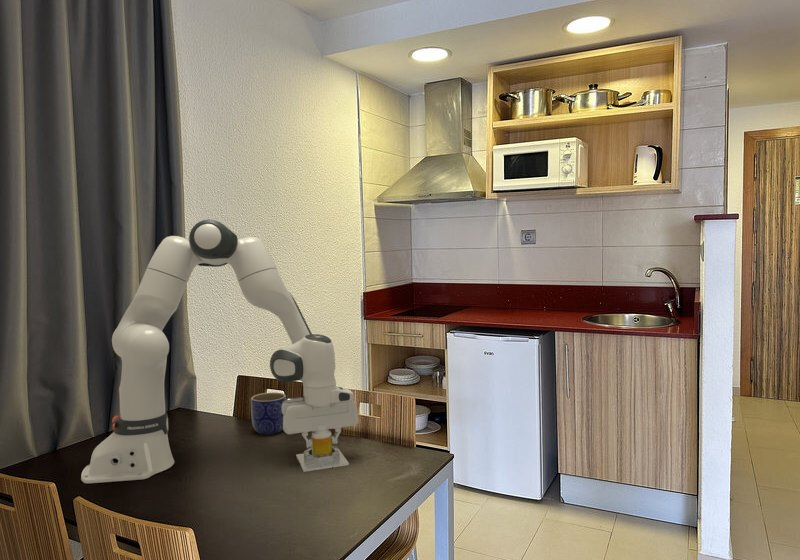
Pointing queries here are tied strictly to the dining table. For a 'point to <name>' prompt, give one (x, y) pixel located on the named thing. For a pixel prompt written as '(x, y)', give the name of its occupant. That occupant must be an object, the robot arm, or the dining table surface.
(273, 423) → the planter
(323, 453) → the supplement bottle
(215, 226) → the robot arm
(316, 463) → the glass ashtray
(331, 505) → the dining table surface
